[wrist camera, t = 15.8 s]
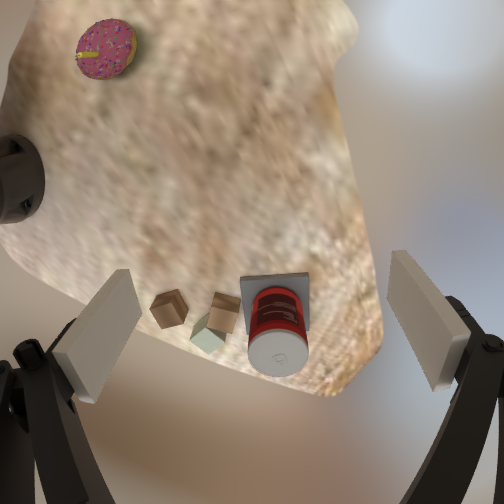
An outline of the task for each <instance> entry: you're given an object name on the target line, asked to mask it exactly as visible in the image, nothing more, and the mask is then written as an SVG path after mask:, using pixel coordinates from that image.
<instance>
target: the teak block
mask: <svg viewBox="0 0 504 504" xmlns="http://www.w3.org/2000/svg"><path fill="white" fill-rule="evenodd" d="M239 306H240V299H239V298H235V297H231V296H228V295H224V294H220V293H216V292H215V296H214V299H213V303H212V306H211V310H210V314H209V318H208V322H207V326H206V327H208V328H211V329H215V330H219V331H223V332H227V333H230V334H232V332H233V329H234V326H235V323H236V319H237V316H238V313H239Z"/></svg>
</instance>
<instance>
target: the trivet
mask: <svg viewBox="0 0 504 504" xmlns="http://www.w3.org/2000/svg"><path fill="white" fill-rule="evenodd" d="M270 287H283V288H286V289H288V290H290V291H292V292H293V293H294V294H295V295H296V296H297V297H298V298H299V300H300V302H301V304H302V308H303V315H304V321H305V328H306V331H309V276H308V273H295V274H280V275H266V276H250V277H240V288H241V295H242V302H243V310H244V317H245V324H246V331H247V335H249V330H250V319H251V308H252V303H253V301H254V299H255V298H256V296H257V295H258V294H259V293H260V292H261V291H263V290H265V289H267V288H270Z"/></svg>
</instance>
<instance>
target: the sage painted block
mask: <svg viewBox="0 0 504 504" xmlns="http://www.w3.org/2000/svg"><path fill="white" fill-rule="evenodd" d="M209 314H210V313H208V314H207V315H206V316H205V317H204V318H202V319H201V320H200V321H199V322H198V323H197V324H196V325H194V328H193V331H192V334H191V337H190V340H189V341H191V342H192V343H193V344H195V345H196V346H197V347H199V348H200V349H201V350H203V351H204V352H206V353H207V354H208V355H209V354H210V353H212V352H213V351H214V350H215V349H217V348H218V347H219V346H221V345H222V344H223V343H225V339H226V334H227V332H223V331H219V330H215V329H211V328H208V327H206V326H207V322H208V318H209Z"/></svg>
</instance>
